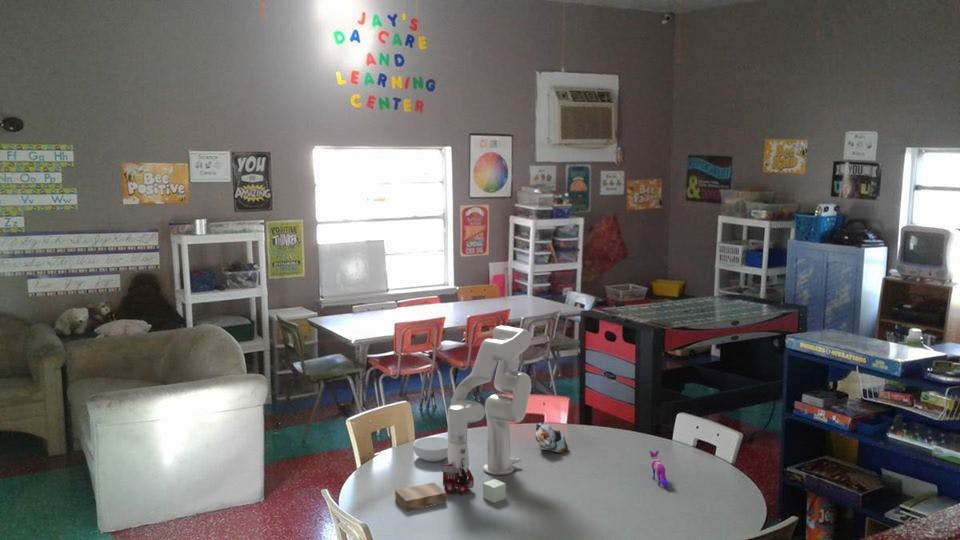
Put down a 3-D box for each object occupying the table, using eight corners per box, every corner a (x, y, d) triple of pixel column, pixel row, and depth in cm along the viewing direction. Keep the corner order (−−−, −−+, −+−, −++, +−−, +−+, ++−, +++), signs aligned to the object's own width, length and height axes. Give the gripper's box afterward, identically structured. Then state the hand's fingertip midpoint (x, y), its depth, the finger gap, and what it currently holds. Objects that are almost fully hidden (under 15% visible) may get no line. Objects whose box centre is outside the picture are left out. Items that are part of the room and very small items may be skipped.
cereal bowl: (460, 456, 344) (460, 440, 343) (438, 469, 330) (438, 452, 329) (428, 449, 353) (428, 433, 352) (405, 460, 339) (405, 444, 338)
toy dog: (656, 472, 326) (656, 448, 325) (671, 490, 308) (671, 464, 307) (647, 472, 326) (647, 448, 324) (661, 490, 308) (662, 465, 306)
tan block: (434, 492, 307) (434, 482, 306) (446, 502, 297) (446, 492, 296) (395, 500, 299) (395, 490, 299) (406, 511, 290) (406, 501, 289)
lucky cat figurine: (571, 453, 347) (561, 430, 341) (546, 464, 347) (535, 441, 341) (563, 433, 361) (553, 410, 355) (538, 443, 361) (528, 420, 355)
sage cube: (494, 493, 305) (494, 478, 304) (505, 498, 301) (505, 483, 300) (483, 498, 301) (483, 483, 300) (493, 503, 297) (493, 487, 296)
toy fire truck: (472, 494, 304) (472, 468, 303) (440, 493, 306) (440, 467, 304) (474, 487, 311) (474, 462, 310) (443, 486, 312) (443, 460, 311)
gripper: (476, 443, 300) (476, 486, 302) (456, 429, 315) (456, 471, 317) (458, 446, 296) (458, 490, 298) (439, 432, 311) (439, 474, 314)
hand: (457, 480), depth 308 cm, fingers closed on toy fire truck, 8 cm apart
